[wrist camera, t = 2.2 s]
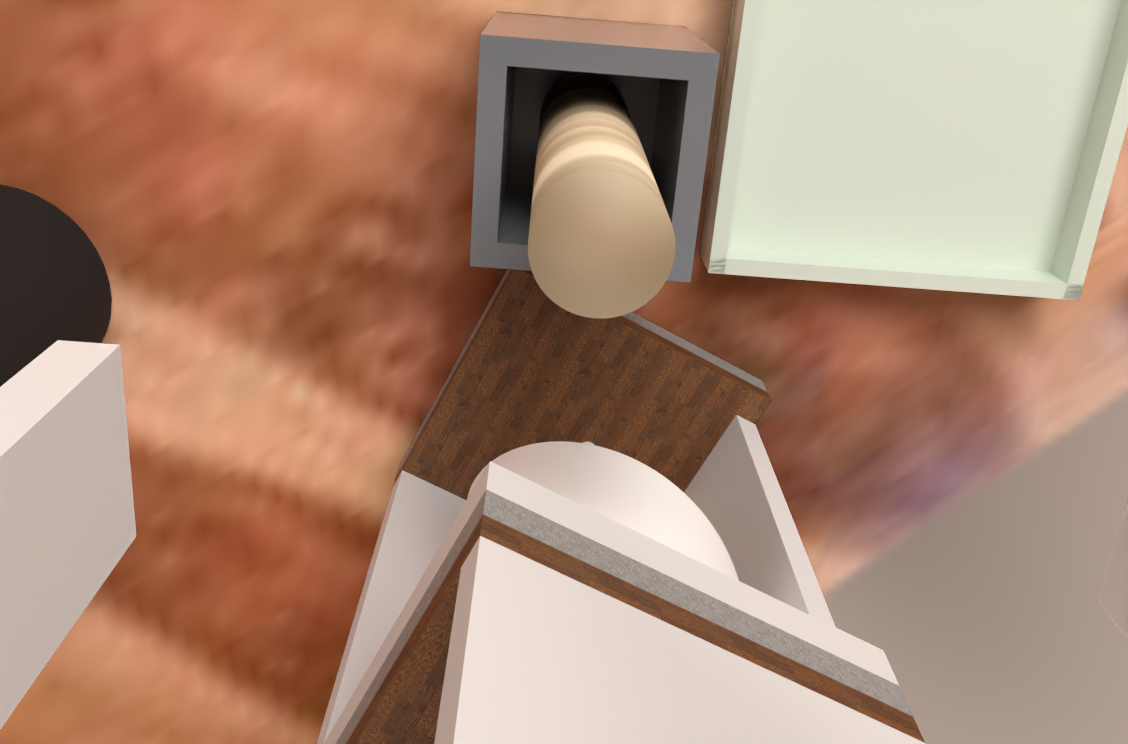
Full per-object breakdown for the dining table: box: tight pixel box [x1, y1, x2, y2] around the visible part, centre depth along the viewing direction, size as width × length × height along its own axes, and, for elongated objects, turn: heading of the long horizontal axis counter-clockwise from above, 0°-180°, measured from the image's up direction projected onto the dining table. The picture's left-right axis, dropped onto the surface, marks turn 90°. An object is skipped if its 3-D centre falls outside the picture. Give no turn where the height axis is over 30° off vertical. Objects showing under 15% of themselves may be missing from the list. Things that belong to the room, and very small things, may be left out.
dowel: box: [528, 74, 676, 319], centre depth 31 cm, size 3×3×17 cm
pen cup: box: [470, 11, 720, 282], centre depth 36 cm, size 7×7×9 cm
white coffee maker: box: [317, 269, 925, 744], centre depth 28 cm, size 11×11×35 cm
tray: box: [700, 0, 1128, 300], centre depth 37 cm, size 18×14×2 cm
